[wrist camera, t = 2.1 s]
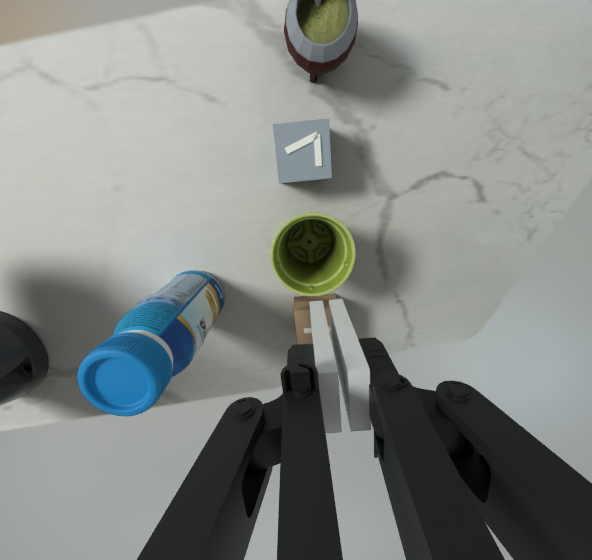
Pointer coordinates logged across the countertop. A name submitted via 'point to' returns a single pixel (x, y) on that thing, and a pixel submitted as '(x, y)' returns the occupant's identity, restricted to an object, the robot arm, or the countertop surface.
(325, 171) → the digit block 7
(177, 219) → the countertop surface
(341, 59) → the mate gourd
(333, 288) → the plant pot
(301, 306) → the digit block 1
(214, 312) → the beverage bottle
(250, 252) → the countertop surface
